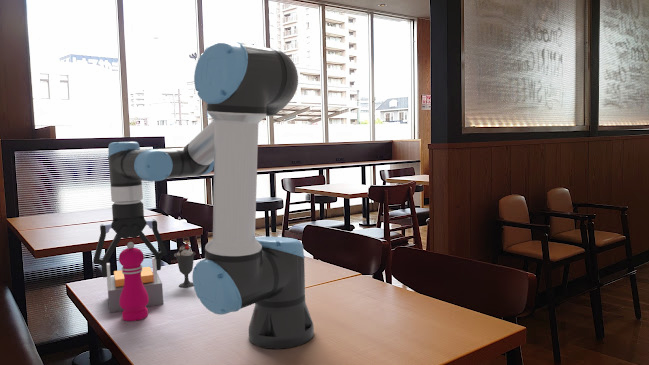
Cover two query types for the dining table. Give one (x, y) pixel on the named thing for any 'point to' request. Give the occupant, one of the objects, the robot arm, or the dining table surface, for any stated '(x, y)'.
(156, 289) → the breaker box
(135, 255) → the pepper mill
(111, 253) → the robot arm
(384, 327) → the dining table surface
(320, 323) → the dining table surface
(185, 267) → the sundae
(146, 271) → the button
